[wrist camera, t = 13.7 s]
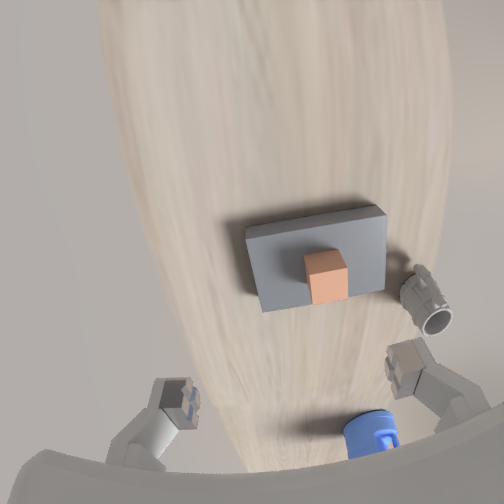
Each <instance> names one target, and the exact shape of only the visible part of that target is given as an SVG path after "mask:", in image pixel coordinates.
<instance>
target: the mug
mask: <svg viewBox="0 0 504 504" xmlns="http://www.w3.org/2000/svg"><path fill="white" fill-rule="evenodd" d="M414 271H415V275H413V276H411V277H410V278H408V280H406V281H405V284H403V285H402V287H401V289H400V293H399V294H400V301H401V304H402V306H403V308H404V309H405V310H407V311H408V312H409V313H410V315H411V316H412V320H413V323H414V325H416V326H417V327H419V329H420V330H421V332H422V333H423V335H425V336H427V337H431V336H434V335H437V334H440V333H441V332H443V330H445V329H446V328H447V327H448V326H449V324H450V323H451V321H452V316H453V312H452V311H451V309H450V307H449V306H448V304H447V300H446V298H445V296H443V295H442V294H441V292H440V289H439V288H438V286H437V283H436V282H435V281H434V279H433V277H432V274H431V272H430V271H428V270H427V269H426V267H424V266H423V265H418V264H416V265H414Z"/></svg>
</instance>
